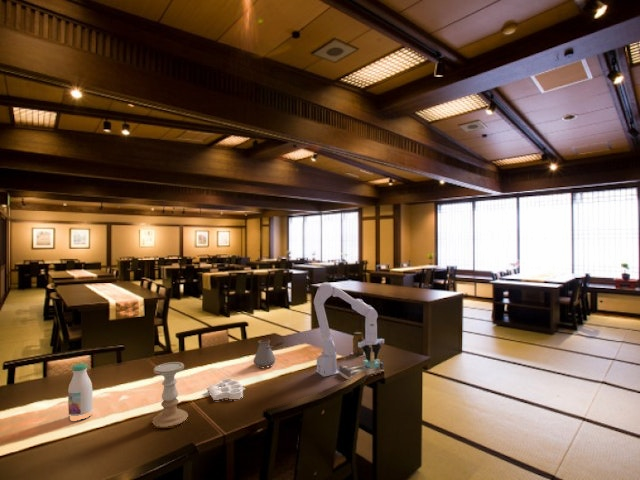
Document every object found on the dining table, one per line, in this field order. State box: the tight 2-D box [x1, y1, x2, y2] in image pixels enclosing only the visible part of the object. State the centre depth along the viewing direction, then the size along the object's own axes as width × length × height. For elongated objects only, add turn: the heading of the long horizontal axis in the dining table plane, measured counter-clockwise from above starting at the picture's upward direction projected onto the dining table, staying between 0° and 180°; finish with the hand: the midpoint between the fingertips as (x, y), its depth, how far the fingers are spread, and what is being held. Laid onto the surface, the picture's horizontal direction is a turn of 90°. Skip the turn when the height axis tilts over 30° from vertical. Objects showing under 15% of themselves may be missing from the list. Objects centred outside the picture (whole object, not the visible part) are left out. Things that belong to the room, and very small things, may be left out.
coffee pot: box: [253, 339, 287, 368], centre depth 188 cm, size 21×12×15 cm, turn 49°
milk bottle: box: [67, 362, 94, 416], centre depth 138 cm, size 8×8×20 cm
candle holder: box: [151, 361, 189, 427], centre depth 134 cm, size 12×12×20 cm
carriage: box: [362, 350, 380, 369], centre depth 180 cm, size 5×7×7 cm
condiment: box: [349, 331, 366, 358], centre depth 206 cm, size 7×8×12 cm
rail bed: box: [338, 358, 385, 380], centre depth 177 cm, size 21×9×5 cm, turn 117°
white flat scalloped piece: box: [206, 377, 247, 401], centre depth 158 cm, size 3×18×15 cm
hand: (371, 359), depth 180 cm, fingers open, 3 cm apart
